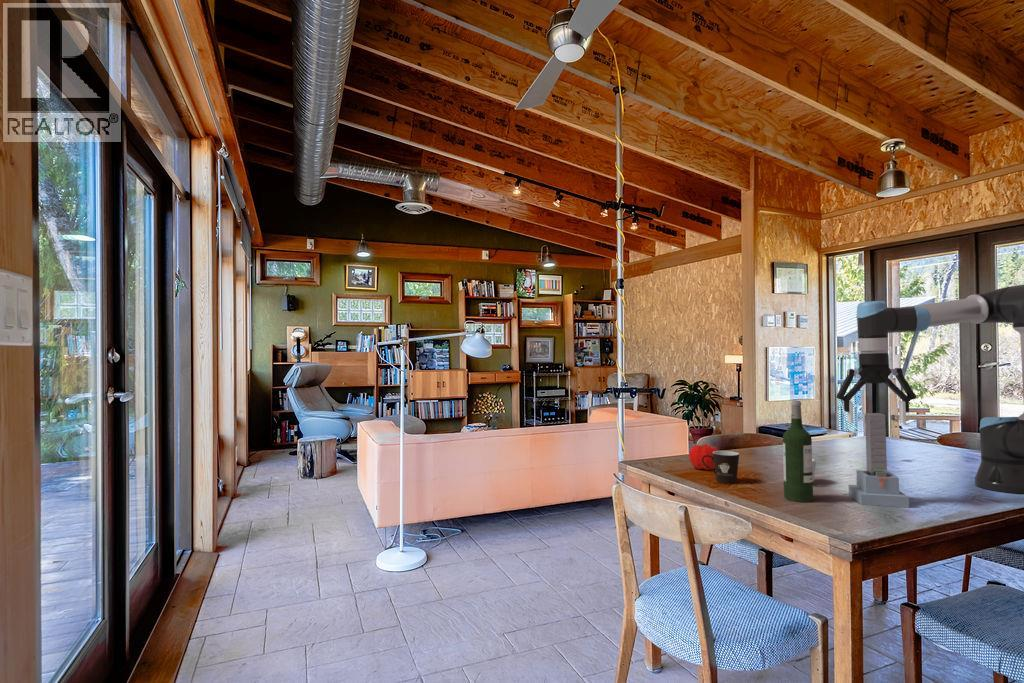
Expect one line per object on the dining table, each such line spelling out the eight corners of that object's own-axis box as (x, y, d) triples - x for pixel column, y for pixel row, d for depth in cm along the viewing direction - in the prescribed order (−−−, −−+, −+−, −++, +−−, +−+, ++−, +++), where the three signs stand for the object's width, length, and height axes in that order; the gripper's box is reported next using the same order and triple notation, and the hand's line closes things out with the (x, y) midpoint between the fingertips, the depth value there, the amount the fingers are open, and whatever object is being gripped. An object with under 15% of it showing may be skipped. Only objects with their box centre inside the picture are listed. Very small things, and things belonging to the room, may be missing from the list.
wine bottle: (815, 503, 159) (812, 402, 159) (785, 501, 161) (783, 401, 162) (810, 496, 166) (808, 399, 167) (782, 494, 169) (780, 399, 170)
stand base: (893, 496, 165) (892, 466, 165) (909, 507, 153) (908, 475, 154) (848, 494, 168) (847, 464, 168) (861, 504, 157) (860, 473, 157)
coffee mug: (745, 482, 185) (744, 453, 185) (730, 486, 180) (729, 456, 181) (715, 476, 195) (715, 448, 195) (700, 479, 190) (700, 451, 190)
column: (882, 479, 162) (880, 413, 163) (888, 482, 158) (886, 415, 158) (867, 478, 163) (865, 413, 164) (872, 482, 159) (870, 414, 159)
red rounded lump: (718, 473, 200) (717, 448, 200) (685, 469, 207) (685, 446, 207) (724, 467, 209) (723, 444, 209) (692, 464, 216) (692, 442, 216)
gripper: (916, 351, 162) (919, 421, 161) (823, 353, 169) (826, 420, 169) (927, 351, 155) (931, 425, 154) (830, 353, 162) (833, 424, 161)
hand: (876, 423), depth 161 cm, fingers open, 13 cm apart
